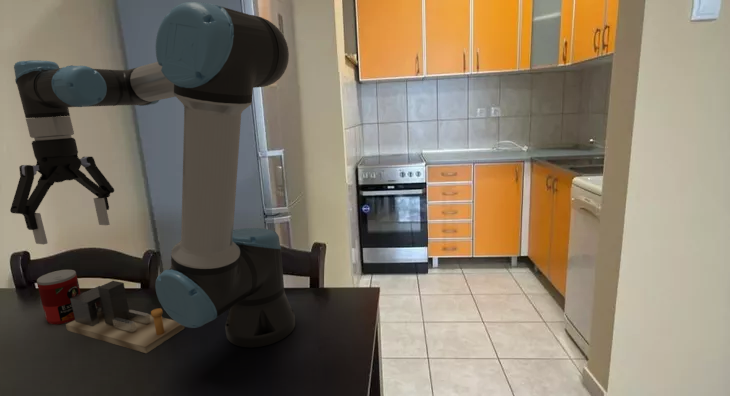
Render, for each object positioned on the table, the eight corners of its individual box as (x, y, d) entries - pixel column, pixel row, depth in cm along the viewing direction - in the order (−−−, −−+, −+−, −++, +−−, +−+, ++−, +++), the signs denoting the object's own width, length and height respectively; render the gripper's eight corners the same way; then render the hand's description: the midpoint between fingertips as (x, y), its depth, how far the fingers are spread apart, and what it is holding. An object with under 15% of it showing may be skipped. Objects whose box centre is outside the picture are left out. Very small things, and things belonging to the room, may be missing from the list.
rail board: (184, 328, 93) (183, 322, 92) (146, 353, 84) (145, 347, 83) (108, 309, 103) (107, 304, 102) (67, 330, 94) (65, 324, 94)
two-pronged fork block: (150, 321, 93) (144, 285, 91) (132, 332, 89) (125, 294, 86) (96, 308, 100) (89, 274, 98) (77, 317, 96) (69, 282, 94)
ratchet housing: (120, 312, 98) (115, 289, 97) (92, 326, 92) (87, 302, 91) (103, 308, 101) (99, 285, 99) (75, 321, 95) (70, 298, 93)
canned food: (65, 326, 96) (55, 283, 93) (38, 323, 97) (27, 281, 95) (92, 310, 103) (84, 270, 100) (66, 308, 105) (57, 268, 102)
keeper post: (168, 331, 89) (164, 309, 88) (159, 336, 87) (155, 314, 86) (161, 329, 90) (157, 307, 89) (152, 334, 88) (148, 312, 87)
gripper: (98, 133, 98) (115, 217, 103) (-31, 144, 76) (-1, 251, 81) (119, 132, 95) (136, 218, 100) (-8, 144, 73) (21, 254, 78)
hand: (75, 233), depth 91 cm, fingers open, 13 cm apart
